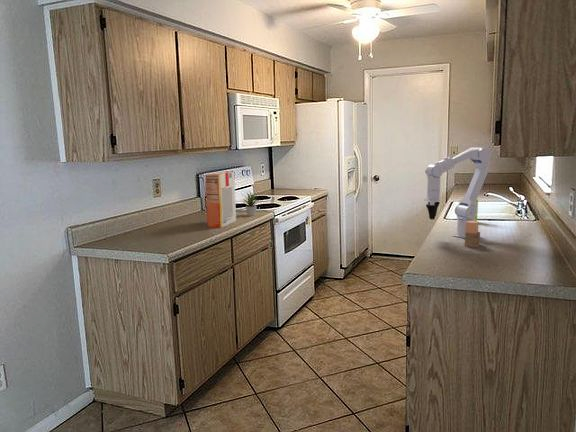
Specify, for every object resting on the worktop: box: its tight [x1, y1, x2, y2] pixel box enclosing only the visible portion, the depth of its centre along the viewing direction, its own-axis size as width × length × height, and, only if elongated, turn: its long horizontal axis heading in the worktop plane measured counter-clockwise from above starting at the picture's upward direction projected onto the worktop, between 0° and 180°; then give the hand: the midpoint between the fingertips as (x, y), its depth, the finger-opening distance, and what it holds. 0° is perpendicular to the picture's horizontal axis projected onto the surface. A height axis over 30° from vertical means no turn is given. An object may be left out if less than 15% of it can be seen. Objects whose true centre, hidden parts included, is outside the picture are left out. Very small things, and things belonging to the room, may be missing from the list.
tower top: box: [464, 231, 481, 242], centre depth 219 cm, size 6×6×3 cm
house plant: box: [242, 191, 263, 217], centre depth 310 cm, size 14×14×16 cm
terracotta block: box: [465, 220, 480, 234], centre depth 219 cm, size 4×4×5 cm
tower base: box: [464, 239, 480, 248], centre depth 220 cm, size 6×6×3 cm
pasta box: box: [204, 170, 237, 229], centre depth 282 cm, size 23×8×30 cm, turn 164°
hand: (432, 218), depth 232 cm, fingers open, 7 cm apart
